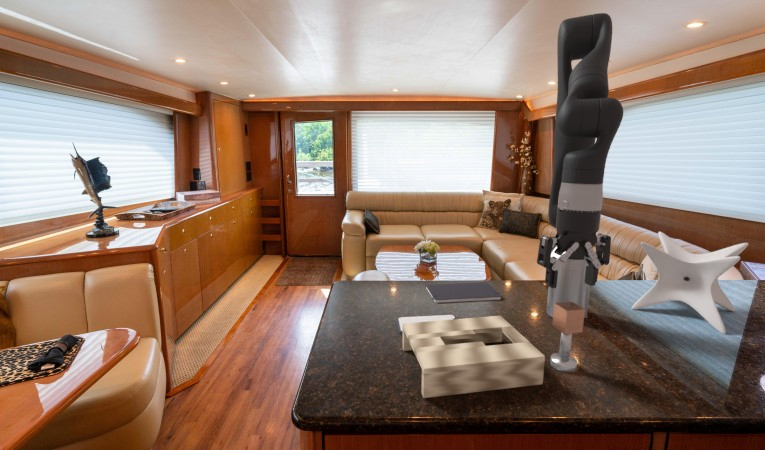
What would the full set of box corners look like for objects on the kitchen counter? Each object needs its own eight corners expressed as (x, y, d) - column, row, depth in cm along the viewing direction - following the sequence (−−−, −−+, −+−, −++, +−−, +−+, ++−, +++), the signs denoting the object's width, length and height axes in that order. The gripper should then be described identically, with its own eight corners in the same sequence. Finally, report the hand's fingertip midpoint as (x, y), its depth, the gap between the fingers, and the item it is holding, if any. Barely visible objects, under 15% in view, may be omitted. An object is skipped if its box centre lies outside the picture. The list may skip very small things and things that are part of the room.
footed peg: (566, 358, 80) (572, 300, 77) (581, 371, 75) (588, 310, 73) (545, 360, 79) (550, 302, 77) (559, 373, 74) (566, 312, 72)
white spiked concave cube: (631, 309, 105) (640, 241, 101) (649, 291, 118) (658, 231, 114) (725, 334, 90) (740, 256, 86) (734, 311, 103) (748, 242, 99)
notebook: (486, 286, 124) (425, 289, 122) (486, 282, 124) (425, 284, 122) (502, 301, 112) (434, 304, 110) (502, 296, 112) (434, 299, 109)
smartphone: (399, 338, 90) (463, 335, 91) (399, 332, 90) (463, 329, 91) (396, 322, 99) (454, 319, 100) (396, 316, 99) (454, 313, 99)
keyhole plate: (498, 338, 89) (500, 315, 87) (542, 384, 71) (545, 356, 70) (402, 347, 85) (402, 323, 84) (423, 398, 67) (424, 368, 66)
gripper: (597, 203, 75) (588, 278, 79) (534, 204, 73) (527, 281, 76) (627, 208, 68) (616, 290, 71) (557, 210, 66) (549, 294, 69)
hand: (570, 285), depth 74 cm, fingers open, 8 cm apart
